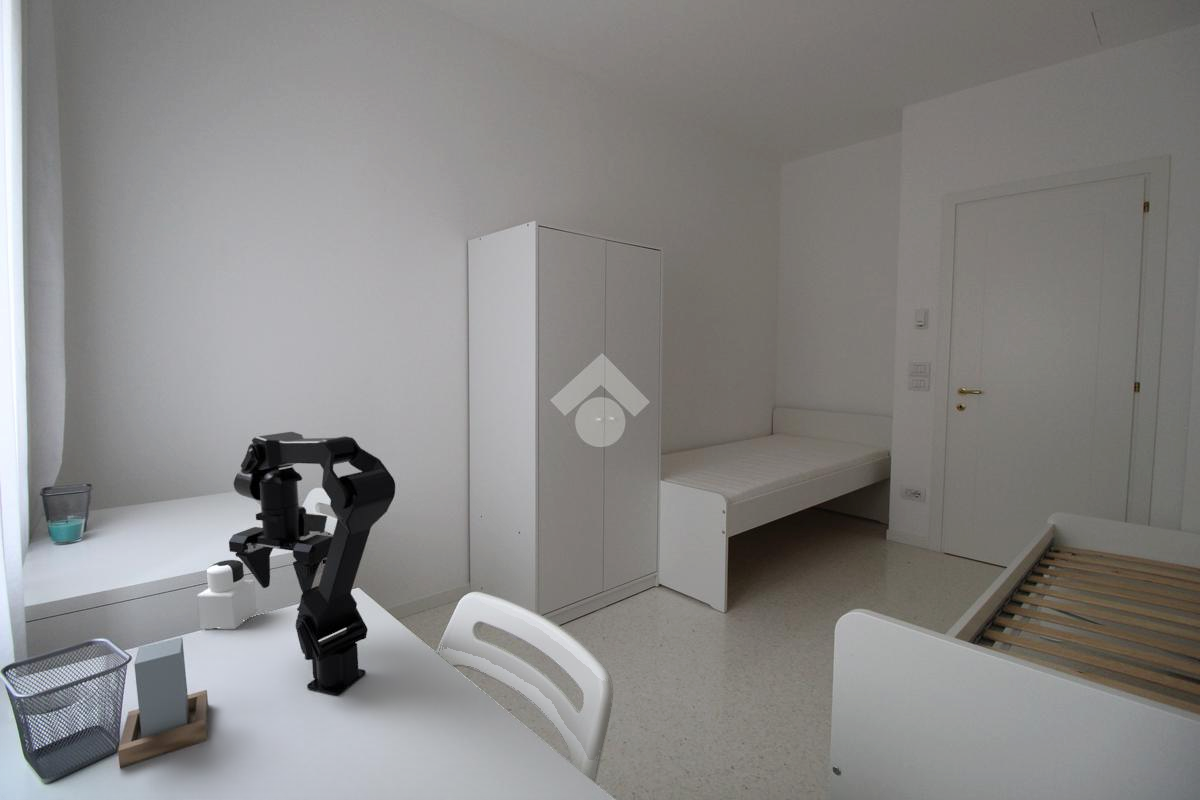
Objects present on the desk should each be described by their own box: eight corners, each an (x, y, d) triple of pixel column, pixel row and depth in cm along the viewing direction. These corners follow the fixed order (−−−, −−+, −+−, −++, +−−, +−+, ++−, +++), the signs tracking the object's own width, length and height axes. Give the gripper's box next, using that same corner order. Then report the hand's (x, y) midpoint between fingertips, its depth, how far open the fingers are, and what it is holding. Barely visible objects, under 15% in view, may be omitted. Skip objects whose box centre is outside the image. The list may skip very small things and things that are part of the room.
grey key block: (189, 716, 85) (182, 636, 83) (187, 735, 81) (180, 652, 79) (147, 728, 82) (138, 647, 81) (143, 749, 78) (134, 663, 76)
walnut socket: (208, 704, 88) (206, 689, 88) (206, 740, 80) (204, 723, 80) (130, 727, 83) (128, 711, 82) (119, 768, 75) (117, 750, 75)
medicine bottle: (224, 612, 118) (219, 556, 116) (258, 612, 118) (253, 556, 116) (199, 629, 111) (194, 570, 109) (235, 630, 110) (230, 571, 109)
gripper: (357, 496, 103) (361, 578, 105) (277, 489, 109) (283, 566, 111) (308, 515, 93) (314, 605, 95) (223, 505, 99) (230, 591, 100)
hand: (286, 590), depth 100 cm, fingers open, 9 cm apart
